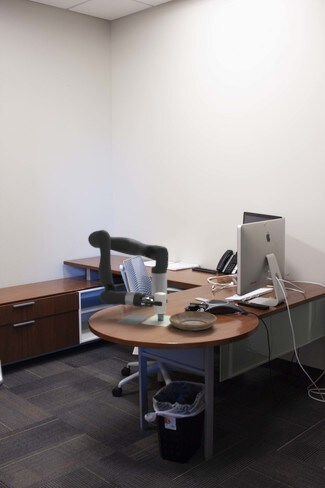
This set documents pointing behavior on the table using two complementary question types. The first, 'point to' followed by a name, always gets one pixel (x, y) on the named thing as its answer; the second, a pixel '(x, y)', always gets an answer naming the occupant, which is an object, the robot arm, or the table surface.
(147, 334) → the table surface
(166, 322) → the board
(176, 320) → the ceramic bowl
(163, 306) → the white lidded canister
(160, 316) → the peg
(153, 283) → the robot arm
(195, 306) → the end cap
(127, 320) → the mat
